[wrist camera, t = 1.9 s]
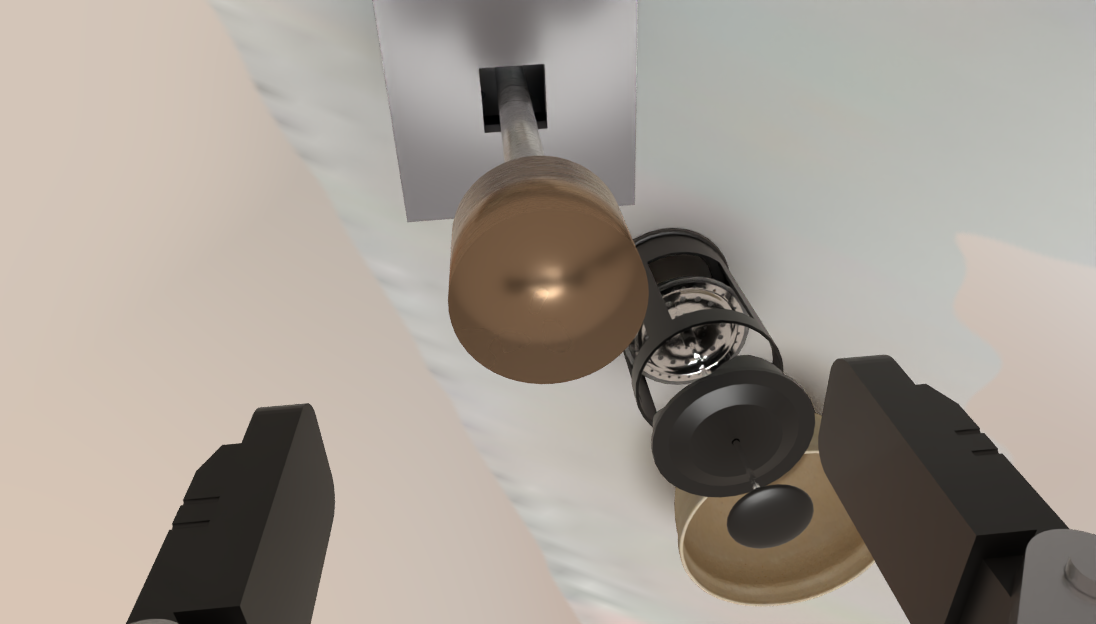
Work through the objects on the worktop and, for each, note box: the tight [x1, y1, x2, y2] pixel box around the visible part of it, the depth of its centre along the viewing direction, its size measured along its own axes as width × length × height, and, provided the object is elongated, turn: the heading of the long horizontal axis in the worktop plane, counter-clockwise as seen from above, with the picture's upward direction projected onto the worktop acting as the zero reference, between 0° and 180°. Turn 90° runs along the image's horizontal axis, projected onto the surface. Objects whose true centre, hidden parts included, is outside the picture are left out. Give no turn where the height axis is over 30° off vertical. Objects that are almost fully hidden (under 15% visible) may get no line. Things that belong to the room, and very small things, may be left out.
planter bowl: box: [675, 413, 875, 606], centre depth 58 cm, size 16×16×11 cm
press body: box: [373, 0, 638, 222], centre depth 36 cm, size 9×9×19 cm
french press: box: [623, 229, 815, 549], centre depth 45 cm, size 12×9×23 cm
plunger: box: [448, 64, 649, 384], centre depth 25 cm, size 6×6×24 cm
